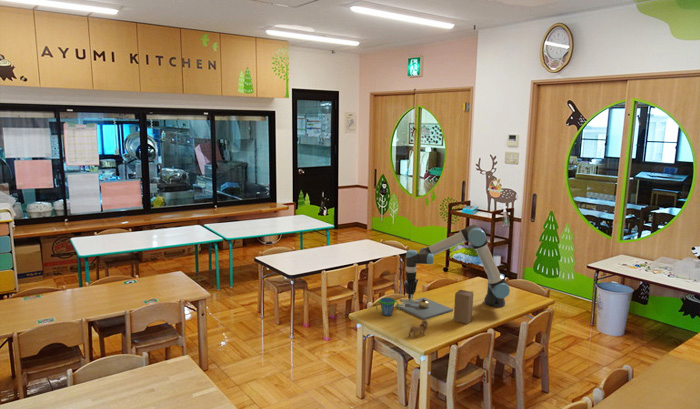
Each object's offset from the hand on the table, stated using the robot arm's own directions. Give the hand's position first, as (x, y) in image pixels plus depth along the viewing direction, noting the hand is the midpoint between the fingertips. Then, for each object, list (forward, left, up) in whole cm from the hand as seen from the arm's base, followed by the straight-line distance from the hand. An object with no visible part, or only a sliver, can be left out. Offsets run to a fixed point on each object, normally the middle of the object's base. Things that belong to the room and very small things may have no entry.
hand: (410, 302), depth 359 cm
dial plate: (-10, -4, -3) cm, 11 cm away
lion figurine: (-39, +31, -3) cm, 50 cm away
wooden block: (-40, -11, -3) cm, 42 cm away
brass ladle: (-4, 0, -1) cm, 4 cm away
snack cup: (-2, +24, -3) cm, 24 cm away
